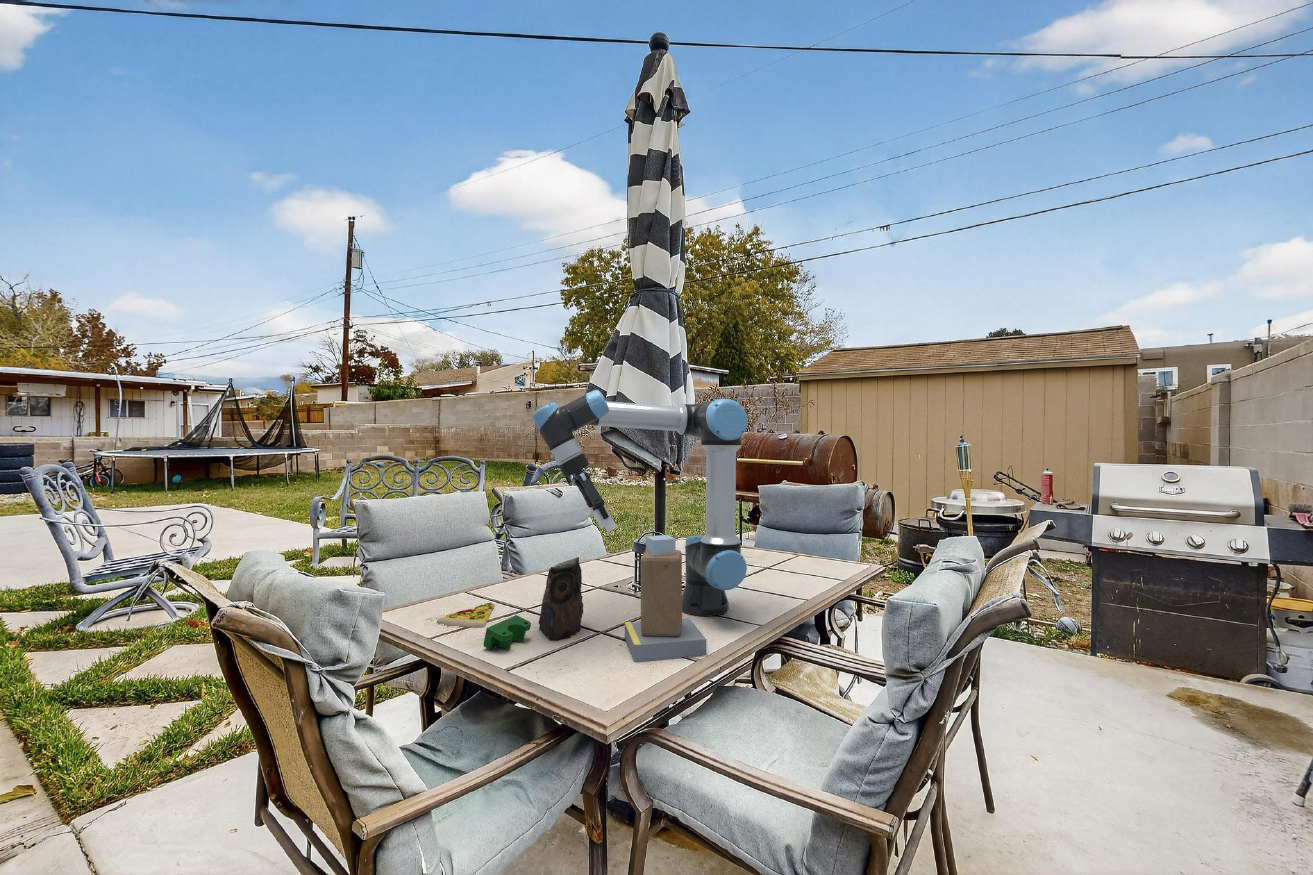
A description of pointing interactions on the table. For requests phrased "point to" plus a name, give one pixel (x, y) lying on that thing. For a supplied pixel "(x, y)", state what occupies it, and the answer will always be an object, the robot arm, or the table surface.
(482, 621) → the pizza slice
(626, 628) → the dock
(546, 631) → the owl
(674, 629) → the wooden block
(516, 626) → the clamp
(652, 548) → the box
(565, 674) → the table surface
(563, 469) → the robot arm
